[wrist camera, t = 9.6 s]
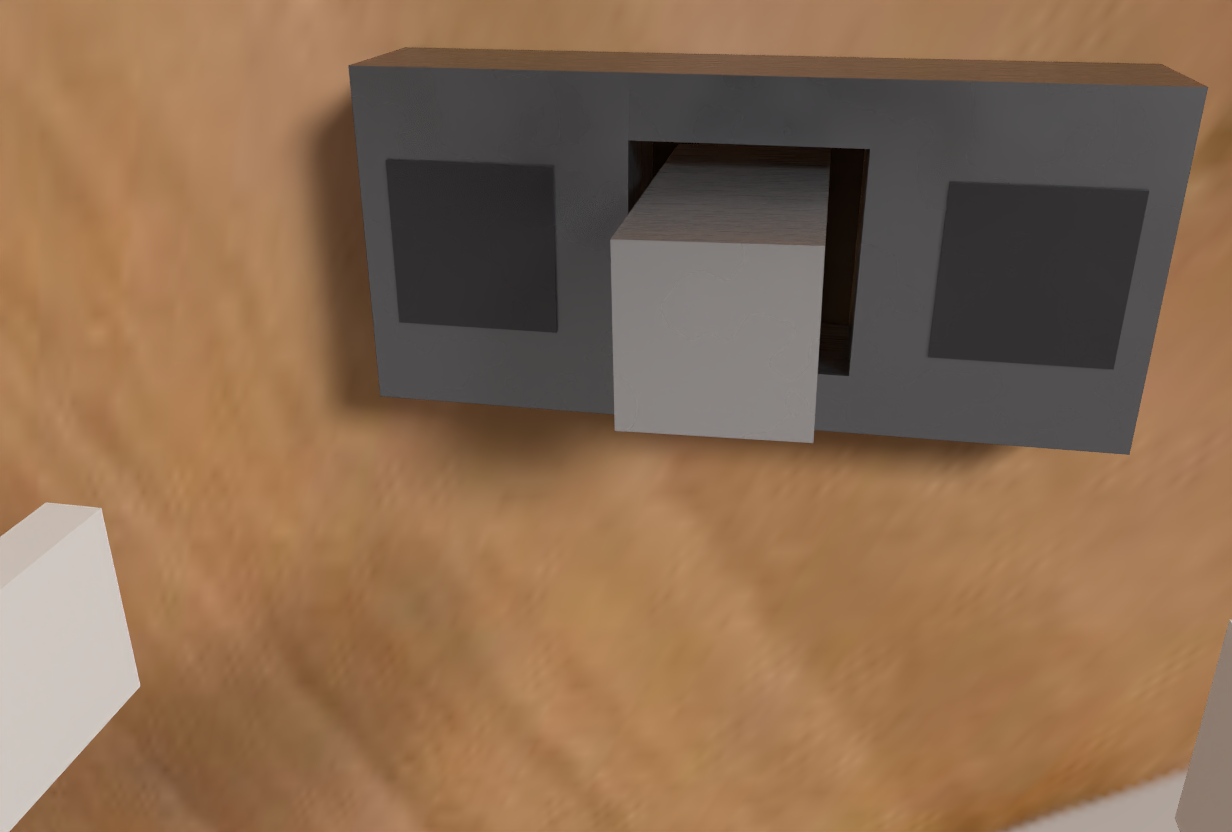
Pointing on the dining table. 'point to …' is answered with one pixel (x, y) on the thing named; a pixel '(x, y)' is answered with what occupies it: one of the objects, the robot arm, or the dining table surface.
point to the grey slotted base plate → (886, 236)
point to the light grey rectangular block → (722, 294)
